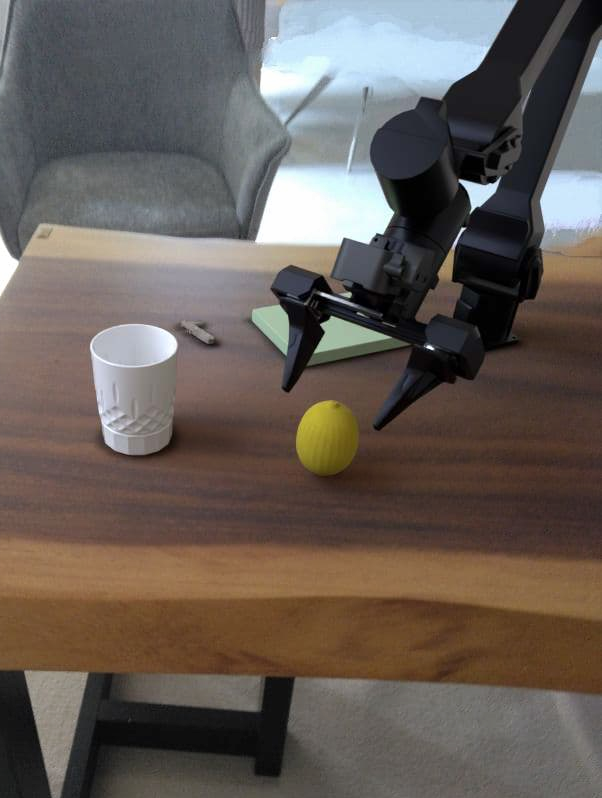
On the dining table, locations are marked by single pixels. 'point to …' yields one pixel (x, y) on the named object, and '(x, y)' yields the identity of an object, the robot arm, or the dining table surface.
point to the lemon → (327, 438)
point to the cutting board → (325, 335)
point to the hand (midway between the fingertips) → (328, 409)
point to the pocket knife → (197, 331)
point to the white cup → (135, 386)
